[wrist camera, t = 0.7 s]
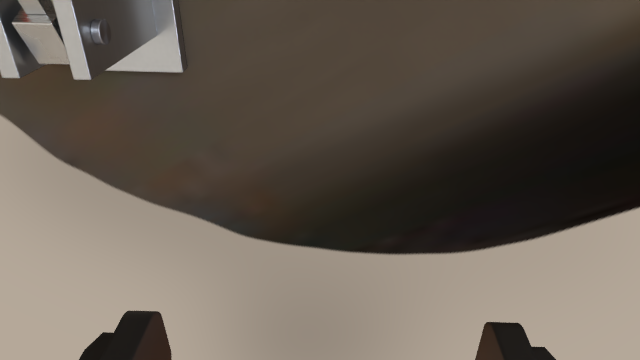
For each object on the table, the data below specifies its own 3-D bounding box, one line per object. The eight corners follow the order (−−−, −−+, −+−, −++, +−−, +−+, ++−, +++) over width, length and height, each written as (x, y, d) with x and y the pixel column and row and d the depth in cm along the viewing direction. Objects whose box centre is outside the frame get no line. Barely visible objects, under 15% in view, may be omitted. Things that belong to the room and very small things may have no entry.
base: (54, -77, 32) (-82, -72, 21) (168, -75, 31) (85, -69, 21) (89, 65, 37) (-7, 124, 26) (187, 68, 36) (128, 128, 26)
